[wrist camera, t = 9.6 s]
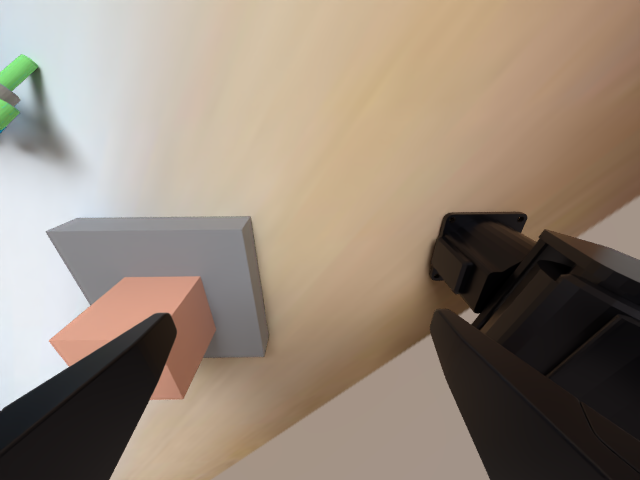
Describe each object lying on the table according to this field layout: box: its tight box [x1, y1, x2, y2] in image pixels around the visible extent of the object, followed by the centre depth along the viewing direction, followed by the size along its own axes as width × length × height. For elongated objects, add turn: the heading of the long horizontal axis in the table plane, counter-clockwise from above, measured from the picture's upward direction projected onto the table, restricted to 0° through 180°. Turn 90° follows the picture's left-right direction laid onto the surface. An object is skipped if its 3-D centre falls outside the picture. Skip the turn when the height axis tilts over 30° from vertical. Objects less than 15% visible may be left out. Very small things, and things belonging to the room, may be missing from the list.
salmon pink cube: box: [49, 276, 216, 400], centre depth 17 cm, size 6×6×6 cm
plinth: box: [45, 216, 269, 358], centre depth 21 cm, size 14×14×2 cm
